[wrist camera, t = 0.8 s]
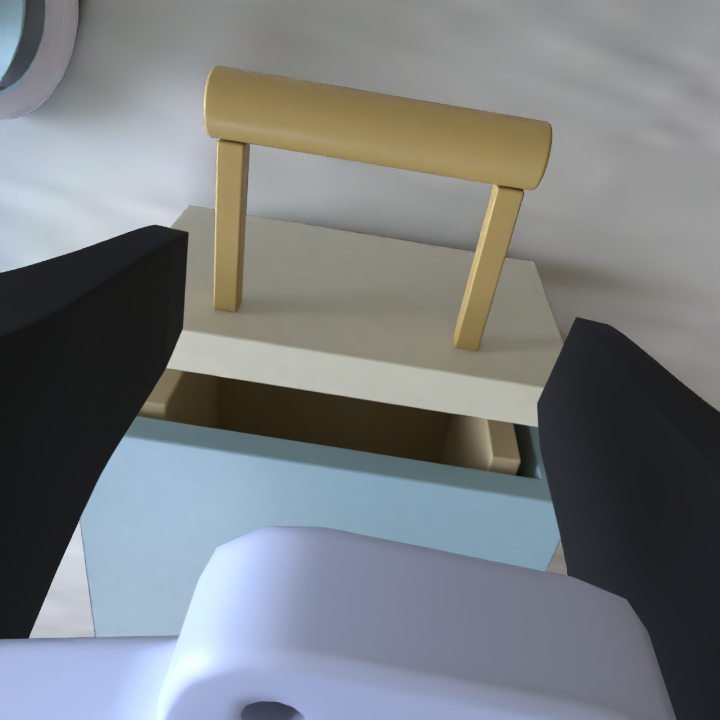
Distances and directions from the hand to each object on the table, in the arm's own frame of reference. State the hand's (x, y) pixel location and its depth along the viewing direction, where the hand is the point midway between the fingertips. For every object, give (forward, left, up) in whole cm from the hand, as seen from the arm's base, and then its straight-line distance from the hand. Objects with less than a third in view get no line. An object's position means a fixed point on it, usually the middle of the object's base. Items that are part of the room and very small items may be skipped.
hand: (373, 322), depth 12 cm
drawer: (-1, -7, -9) cm, 12 cm away
